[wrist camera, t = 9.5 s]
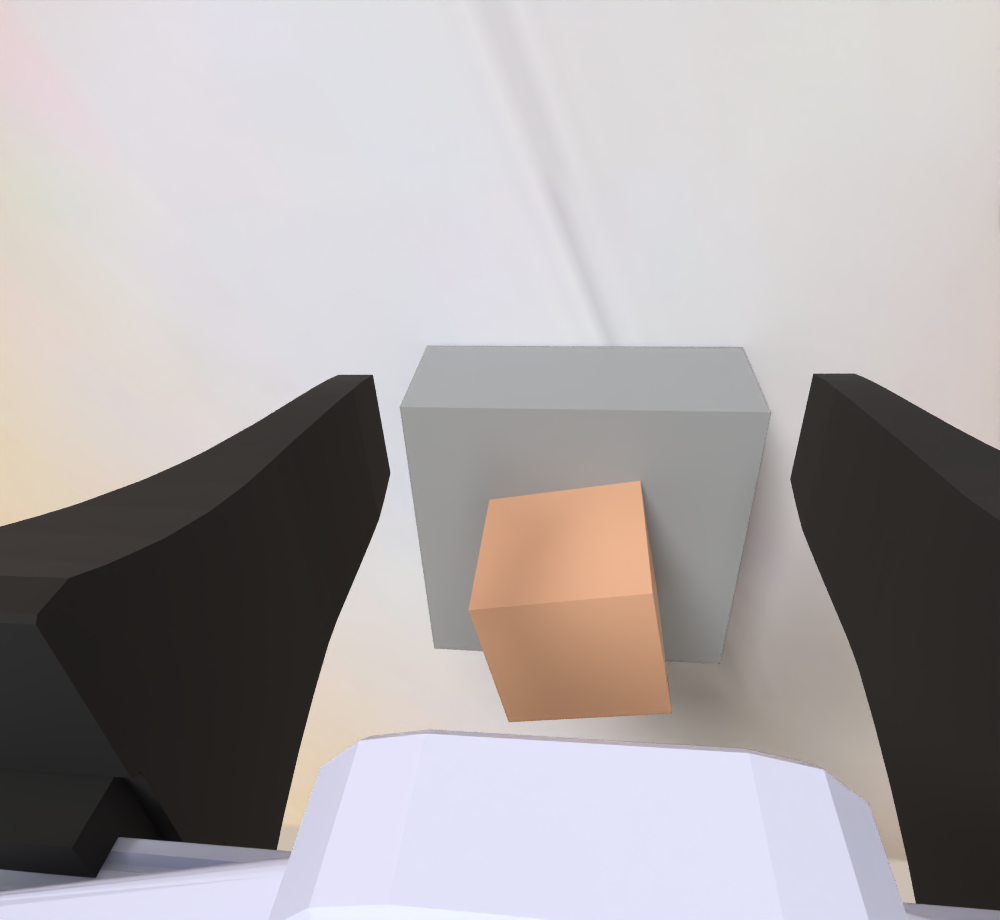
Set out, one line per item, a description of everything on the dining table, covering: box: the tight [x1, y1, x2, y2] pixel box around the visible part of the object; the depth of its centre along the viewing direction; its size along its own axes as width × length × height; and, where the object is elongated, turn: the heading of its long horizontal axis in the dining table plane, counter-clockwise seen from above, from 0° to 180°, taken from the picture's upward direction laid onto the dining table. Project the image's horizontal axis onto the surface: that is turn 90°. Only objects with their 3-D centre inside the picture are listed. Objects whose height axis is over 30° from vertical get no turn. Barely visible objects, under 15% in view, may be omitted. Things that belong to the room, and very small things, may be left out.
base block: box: [400, 346, 771, 664], centre depth 23 cm, size 10×10×4 cm
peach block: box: [468, 481, 671, 722], centre depth 20 cm, size 4×4×4 cm
